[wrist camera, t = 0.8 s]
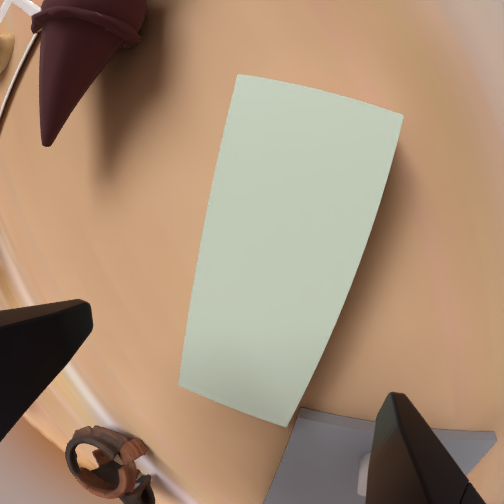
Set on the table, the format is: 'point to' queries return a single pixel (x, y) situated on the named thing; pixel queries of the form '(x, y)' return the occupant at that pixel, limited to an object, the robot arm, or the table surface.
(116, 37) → the icecream
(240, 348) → the shelf board
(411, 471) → the robot arm
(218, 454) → the table surface
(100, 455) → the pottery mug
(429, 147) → the table surface
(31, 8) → the dessert
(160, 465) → the table surface
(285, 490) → the peg plate
